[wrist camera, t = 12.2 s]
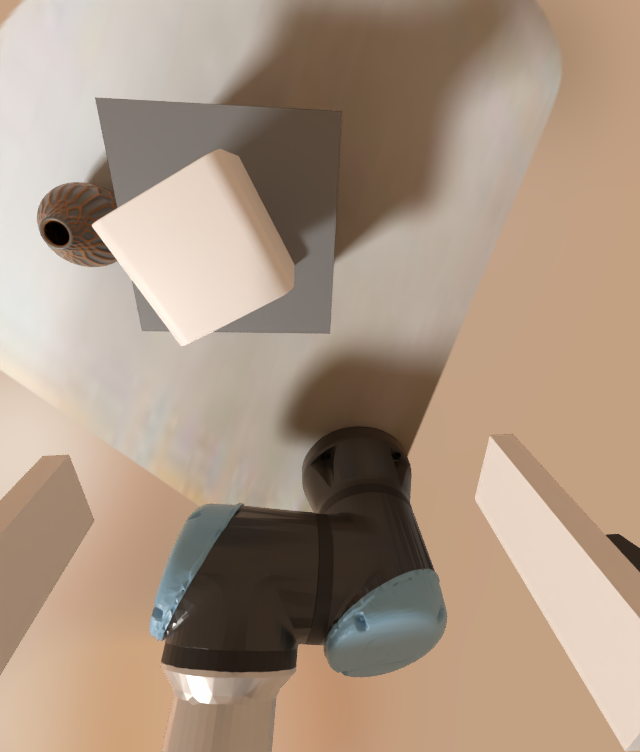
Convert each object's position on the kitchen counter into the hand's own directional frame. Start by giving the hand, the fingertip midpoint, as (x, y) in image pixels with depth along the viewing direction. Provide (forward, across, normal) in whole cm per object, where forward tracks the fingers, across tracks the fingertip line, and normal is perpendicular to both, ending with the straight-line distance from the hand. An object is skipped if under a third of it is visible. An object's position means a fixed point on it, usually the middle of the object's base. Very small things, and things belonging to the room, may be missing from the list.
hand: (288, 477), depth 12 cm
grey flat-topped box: (+31, +4, -6) cm, 32 cm away
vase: (+31, +18, -6) cm, 36 cm away
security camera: (+17, +4, -6) cm, 19 cm away
